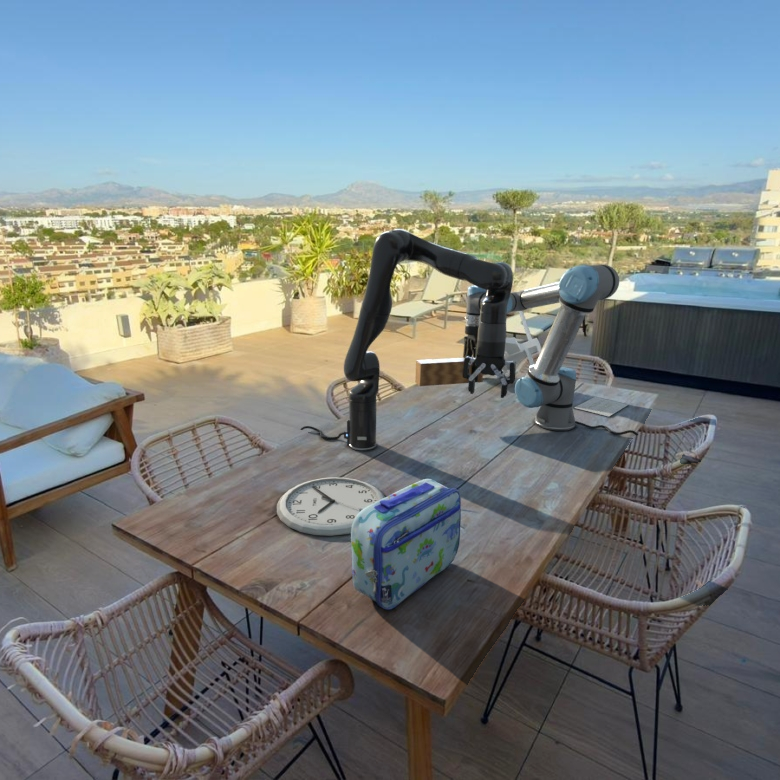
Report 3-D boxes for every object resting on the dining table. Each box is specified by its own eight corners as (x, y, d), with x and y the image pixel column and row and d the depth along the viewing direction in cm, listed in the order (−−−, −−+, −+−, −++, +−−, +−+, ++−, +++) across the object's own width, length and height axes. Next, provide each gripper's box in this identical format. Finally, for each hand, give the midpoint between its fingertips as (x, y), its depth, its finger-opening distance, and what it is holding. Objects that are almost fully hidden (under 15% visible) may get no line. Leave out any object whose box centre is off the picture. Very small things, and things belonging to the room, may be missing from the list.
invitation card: (608, 416, 214) (573, 407, 224) (608, 416, 214) (573, 408, 224) (628, 404, 229) (594, 396, 238) (628, 405, 229) (594, 397, 238)
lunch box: (380, 623, 100) (381, 528, 94) (344, 596, 108) (343, 505, 101) (464, 565, 118) (470, 482, 112) (428, 545, 125) (432, 466, 119)
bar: (476, 378, 223) (477, 356, 220) (482, 382, 217) (483, 360, 214) (415, 382, 215) (416, 360, 212) (419, 386, 210) (420, 363, 207)
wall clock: (392, 527, 129) (268, 531, 127) (391, 533, 130) (269, 537, 127) (383, 473, 158) (282, 475, 155) (383, 478, 158) (282, 480, 156)
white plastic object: (487, 418, 267) (468, 395, 242) (469, 346, 289) (449, 318, 264) (558, 394, 255) (545, 368, 230) (533, 321, 277) (518, 289, 252)
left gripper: (462, 338, 141) (459, 395, 146) (516, 343, 136) (510, 402, 141) (469, 333, 147) (465, 388, 152) (520, 338, 142) (515, 394, 147)
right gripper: (456, 320, 219) (453, 373, 226) (476, 329, 202) (472, 386, 209) (473, 320, 221) (469, 372, 228) (493, 328, 204) (489, 385, 211)
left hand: (487, 395), depth 146 cm, fingers open, 8 cm apart
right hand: (470, 379), depth 219 cm, fingers closed on bar, 6 cm apart
